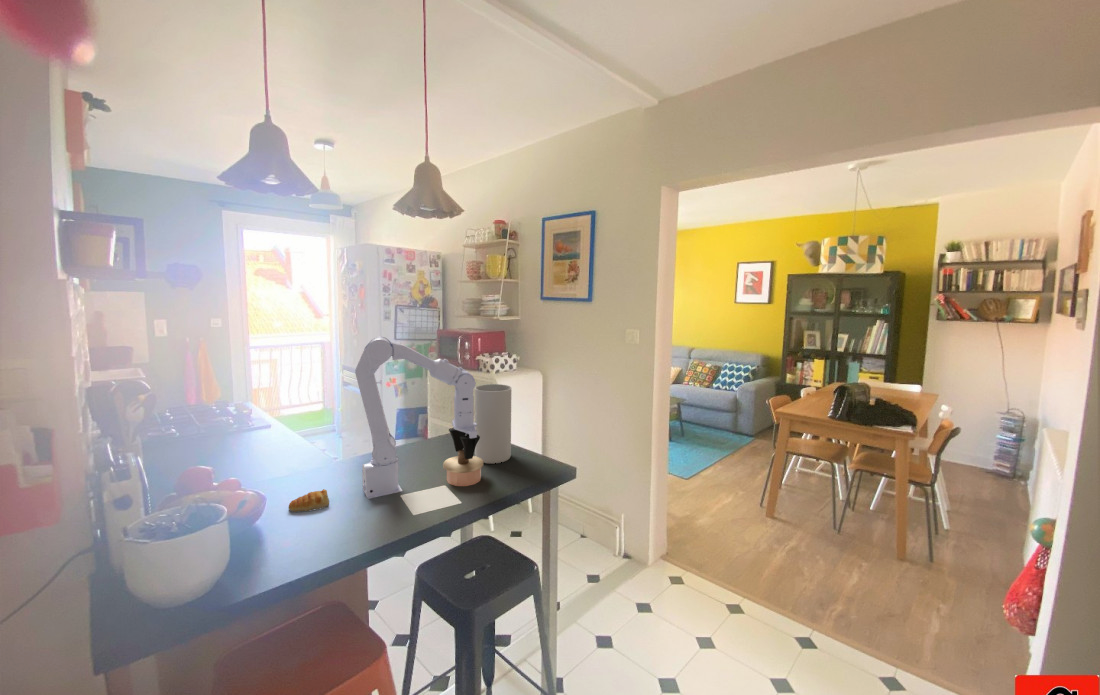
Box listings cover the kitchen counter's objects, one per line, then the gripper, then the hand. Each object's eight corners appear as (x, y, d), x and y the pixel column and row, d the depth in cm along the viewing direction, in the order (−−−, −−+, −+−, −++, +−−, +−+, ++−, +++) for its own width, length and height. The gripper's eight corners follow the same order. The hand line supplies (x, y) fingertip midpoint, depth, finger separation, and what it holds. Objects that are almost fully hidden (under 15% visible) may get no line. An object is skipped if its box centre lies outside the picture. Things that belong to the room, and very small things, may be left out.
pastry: (289, 517, 110) (289, 502, 110) (287, 506, 115) (286, 493, 115) (331, 507, 115) (330, 493, 115) (326, 497, 121) (326, 484, 120)
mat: (413, 517, 111) (413, 515, 110) (400, 497, 121) (400, 495, 121) (461, 505, 118) (462, 502, 118) (445, 487, 128) (445, 485, 128)
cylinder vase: (517, 459, 152) (518, 388, 149) (486, 467, 144) (486, 393, 141) (498, 449, 162) (499, 382, 159) (468, 456, 154) (468, 386, 151)
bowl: (454, 490, 126) (454, 474, 126) (442, 478, 135) (442, 462, 134) (486, 483, 132) (486, 467, 131) (472, 471, 140) (472, 456, 140)
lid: (453, 476, 124) (453, 461, 124) (436, 462, 134) (436, 449, 133) (490, 467, 131) (490, 453, 131) (472, 455, 141) (472, 442, 141)
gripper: (486, 414, 127) (486, 459, 129) (467, 404, 139) (467, 445, 141) (463, 418, 123) (463, 464, 125) (445, 406, 135) (445, 449, 137)
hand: (464, 454), depth 132 cm, fingers open, 7 cm apart
